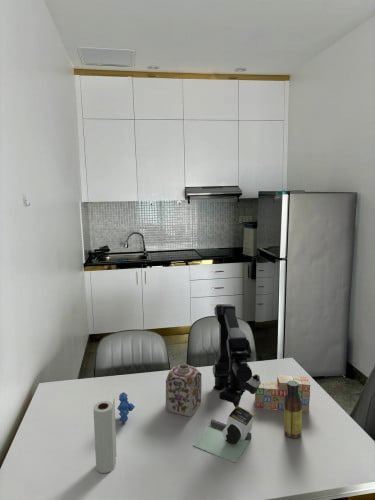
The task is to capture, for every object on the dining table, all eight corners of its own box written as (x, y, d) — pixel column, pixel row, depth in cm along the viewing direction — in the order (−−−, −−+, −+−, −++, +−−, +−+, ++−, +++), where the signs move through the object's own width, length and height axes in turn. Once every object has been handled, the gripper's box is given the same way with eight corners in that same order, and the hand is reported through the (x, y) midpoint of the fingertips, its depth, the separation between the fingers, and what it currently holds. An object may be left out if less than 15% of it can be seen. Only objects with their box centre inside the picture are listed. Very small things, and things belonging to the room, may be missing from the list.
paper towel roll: (97, 476, 112) (95, 413, 109) (94, 463, 118) (91, 402, 115) (120, 469, 115) (118, 407, 112) (116, 456, 121) (114, 397, 118)
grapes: (135, 430, 134) (134, 400, 133) (117, 432, 133) (116, 402, 132) (134, 412, 146) (134, 384, 144) (117, 413, 145) (117, 386, 143)
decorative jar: (165, 411, 146) (164, 369, 144) (176, 396, 157) (176, 357, 154) (192, 418, 142) (192, 375, 139) (202, 402, 152) (202, 362, 150)
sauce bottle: (302, 431, 134) (305, 381, 131) (300, 441, 128) (302, 389, 125) (284, 426, 137) (286, 377, 134) (281, 436, 131) (283, 385, 128)
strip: (210, 425, 137) (210, 421, 137) (212, 423, 138) (212, 419, 138) (250, 439, 129) (250, 435, 129) (251, 437, 130) (251, 433, 130)
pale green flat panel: (193, 445, 126) (193, 445, 126) (208, 427, 136) (208, 426, 136) (235, 463, 118) (235, 462, 118) (248, 441, 128) (248, 441, 128)
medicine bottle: (254, 414, 131) (239, 435, 121) (251, 429, 133) (236, 451, 124) (237, 404, 135) (221, 424, 125) (234, 419, 137) (218, 440, 127)
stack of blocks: (255, 408, 148) (256, 380, 146) (254, 400, 154) (255, 373, 152) (309, 412, 145) (310, 384, 143) (306, 404, 151) (307, 376, 150)
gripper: (248, 385, 123) (247, 427, 125) (266, 363, 138) (265, 401, 141) (218, 376, 128) (218, 417, 130) (239, 357, 144) (238, 393, 146)
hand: (236, 407), depth 137 cm, fingers closed
